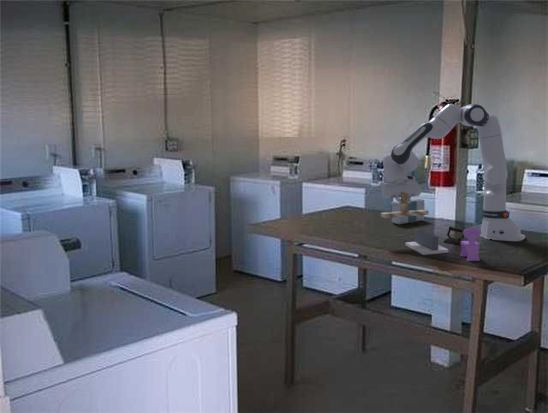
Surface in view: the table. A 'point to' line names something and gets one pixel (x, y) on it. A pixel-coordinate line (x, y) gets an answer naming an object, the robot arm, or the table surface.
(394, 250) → the table surface
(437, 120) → the robot arm
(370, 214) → the table surface
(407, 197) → the balance beam
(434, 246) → the ridge stand
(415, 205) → the stereo radio cassette player
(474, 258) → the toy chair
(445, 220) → the table surface
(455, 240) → the clothes iron
